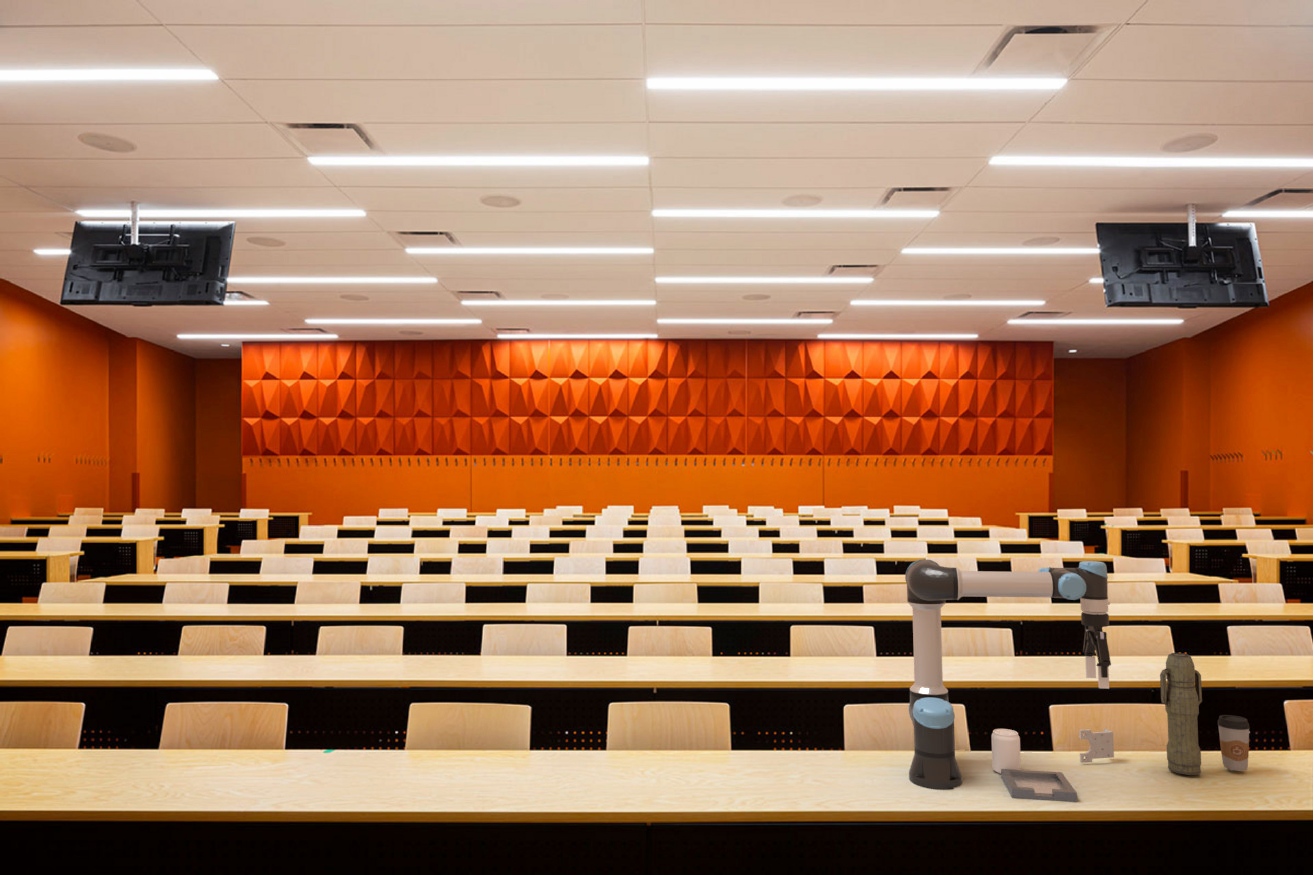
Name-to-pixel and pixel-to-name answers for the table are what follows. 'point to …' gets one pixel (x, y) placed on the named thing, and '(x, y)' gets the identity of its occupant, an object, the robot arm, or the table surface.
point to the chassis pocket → (1038, 785)
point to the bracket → (1097, 745)
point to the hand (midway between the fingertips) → (1097, 682)
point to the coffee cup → (1234, 741)
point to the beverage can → (1005, 750)
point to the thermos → (1182, 713)
